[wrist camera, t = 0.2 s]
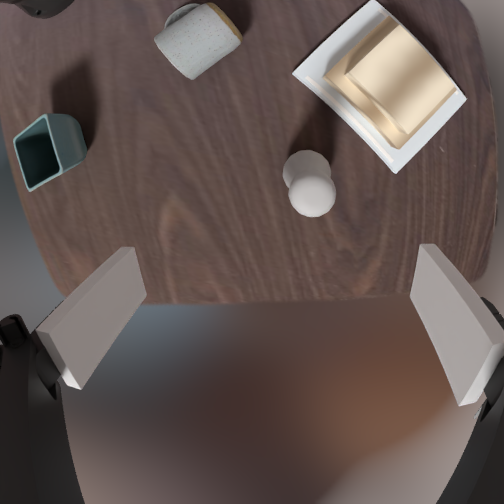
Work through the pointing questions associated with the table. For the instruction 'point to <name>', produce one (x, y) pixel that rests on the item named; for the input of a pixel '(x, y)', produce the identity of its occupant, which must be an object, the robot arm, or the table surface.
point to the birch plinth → (391, 82)
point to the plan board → (313, 79)
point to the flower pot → (49, 148)
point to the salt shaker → (309, 183)
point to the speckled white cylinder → (197, 38)
